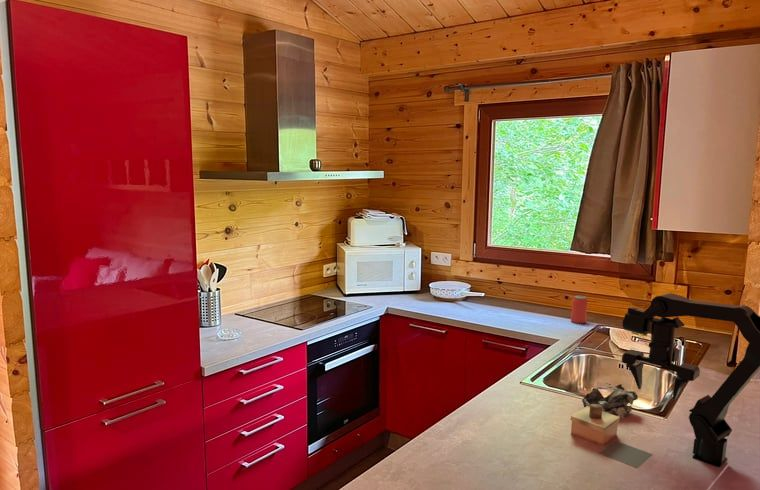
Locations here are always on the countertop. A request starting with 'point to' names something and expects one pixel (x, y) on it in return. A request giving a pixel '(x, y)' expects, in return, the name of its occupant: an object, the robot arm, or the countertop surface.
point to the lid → (595, 418)
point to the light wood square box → (593, 433)
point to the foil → (612, 400)
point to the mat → (625, 454)
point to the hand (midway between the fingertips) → (656, 394)
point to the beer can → (579, 309)
